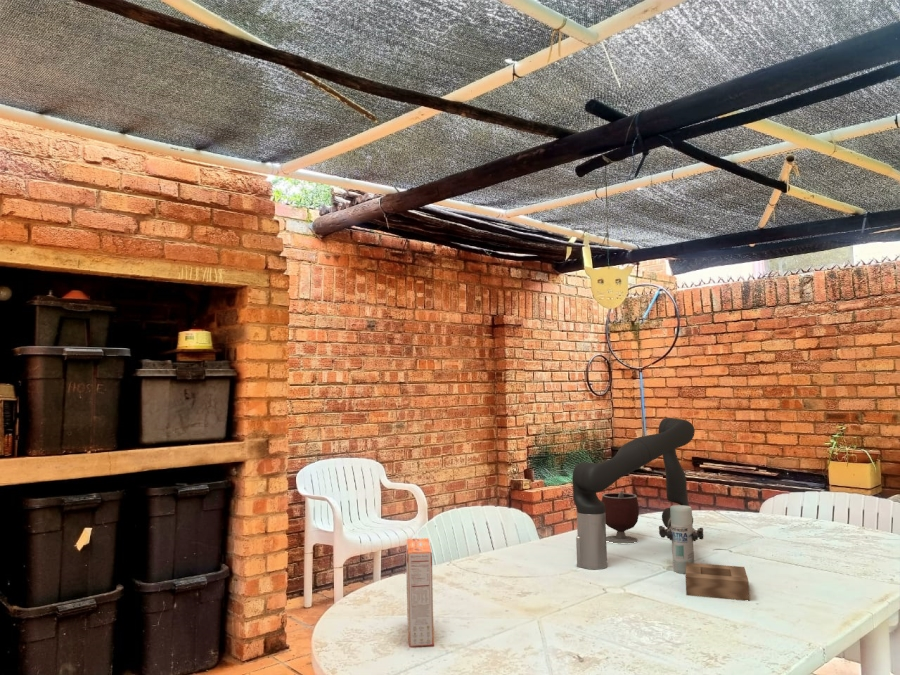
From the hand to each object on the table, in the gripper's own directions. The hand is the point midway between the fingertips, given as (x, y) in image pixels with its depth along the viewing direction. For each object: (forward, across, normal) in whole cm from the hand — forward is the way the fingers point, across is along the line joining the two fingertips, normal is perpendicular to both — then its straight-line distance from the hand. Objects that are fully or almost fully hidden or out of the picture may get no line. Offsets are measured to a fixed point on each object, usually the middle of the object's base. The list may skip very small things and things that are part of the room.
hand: (682, 537), depth 200 cm
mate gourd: (-42, -20, +11) cm, 48 cm away
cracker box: (+70, -62, +11) cm, 95 cm away
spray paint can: (-2, 0, +11) cm, 11 cm away
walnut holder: (+15, +8, +11) cm, 20 cm away
